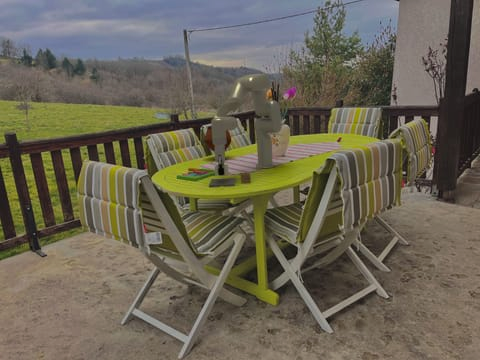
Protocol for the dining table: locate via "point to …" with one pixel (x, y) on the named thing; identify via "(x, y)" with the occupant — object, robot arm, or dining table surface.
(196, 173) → the jigsaw puzzle tray
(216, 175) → the cream brick
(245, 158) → the dining table surface
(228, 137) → the goblet
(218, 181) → the base plate
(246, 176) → the walnut cube
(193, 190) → the dining table surface
